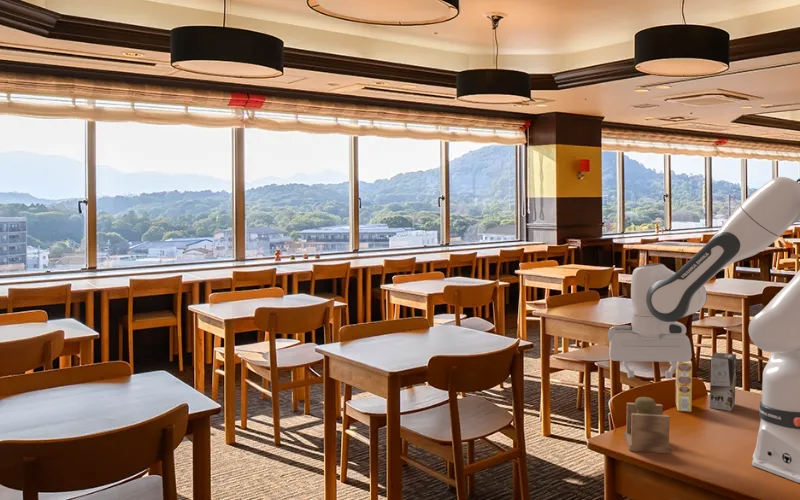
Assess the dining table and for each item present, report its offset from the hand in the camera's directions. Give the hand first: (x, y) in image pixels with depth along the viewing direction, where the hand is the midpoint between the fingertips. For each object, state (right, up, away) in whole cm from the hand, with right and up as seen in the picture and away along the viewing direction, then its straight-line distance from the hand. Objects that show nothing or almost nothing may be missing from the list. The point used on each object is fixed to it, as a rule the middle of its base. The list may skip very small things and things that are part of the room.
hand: (649, 377), depth 175 cm
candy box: (+23, -16, +34) cm, 44 cm away
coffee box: (+36, -16, +35) cm, 53 cm away
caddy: (0, -18, +1) cm, 18 cm away
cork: (-1, -17, +2) cm, 17 cm away
